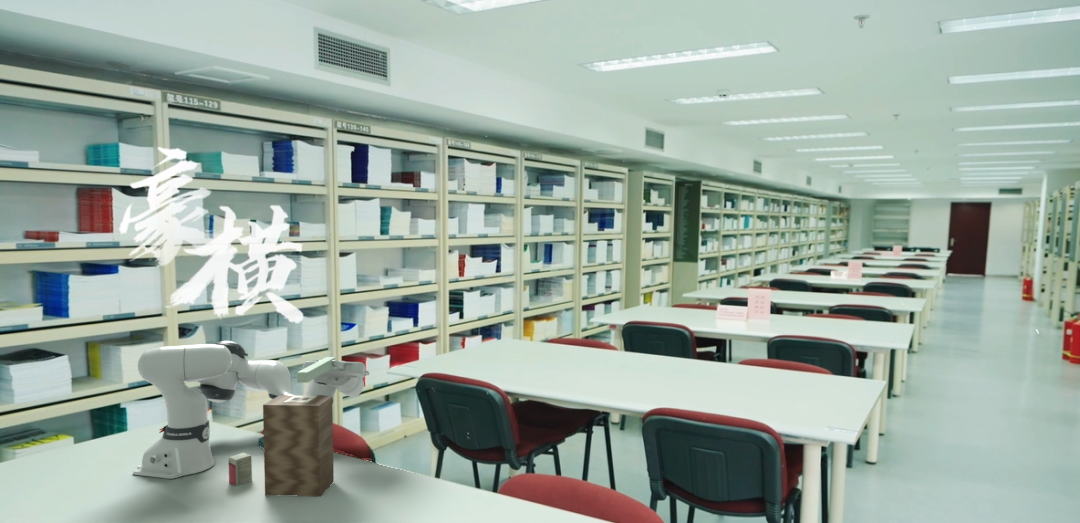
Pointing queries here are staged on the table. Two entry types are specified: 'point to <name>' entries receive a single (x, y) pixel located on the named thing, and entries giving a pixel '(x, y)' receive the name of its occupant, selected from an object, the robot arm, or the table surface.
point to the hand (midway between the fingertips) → (327, 362)
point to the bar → (315, 370)
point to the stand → (298, 445)
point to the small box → (240, 468)
